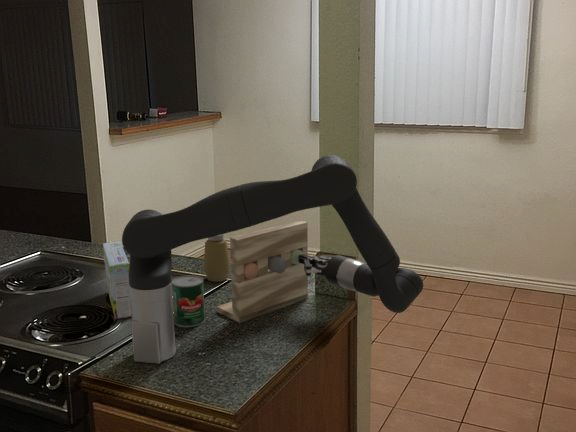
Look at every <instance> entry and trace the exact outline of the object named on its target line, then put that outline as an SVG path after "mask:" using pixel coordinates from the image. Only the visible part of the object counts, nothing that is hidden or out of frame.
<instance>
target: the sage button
mask: <svg viewBox="0 0 576 432" xmlns="http://www.w3.org/2000/svg"><path fill="white" fill-rule="evenodd" d="M301 254H303V252H302V251H300V250H297V249H295V250H292V251H291V263H293V264H295V265H299V264H301V263H299V258H298V256H299V255H301Z"/></svg>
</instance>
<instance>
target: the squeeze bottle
mask: <svg viewBox="0 0 576 432" xmlns="http://www.w3.org/2000/svg"><path fill="white" fill-rule="evenodd" d="M224 237H225V236H224V234H221V235H218V236H214V237H210V238H207V240H206V241H205V242H204V257H203V272H204V273H205V275H206V279H207V280H208V281H209V282H214V283H216V282H218V283H219V282H223V281H227V279H228V276H229V273H230V271H231V260H230V257H229V255H230V254H229V248H228V242H227V240H226V239H224Z"/></svg>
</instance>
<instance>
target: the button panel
mask: <svg viewBox="0 0 576 432" xmlns="http://www.w3.org/2000/svg"><path fill="white" fill-rule="evenodd" d="M308 244H309V243H308V221H304V220H300V219H299V220H296V221H291V222H287V223H282V224H280V225H276V226H272V227H271V226H270V227H268V228H267V227H266V228H263V229H258V230H255V231H251V232H247V233H243V234H240V235H239V234H238V235H235V236H231V237H229V245H230V246H229V248H230V249H229V251H230V254H229V255H230V278H231V279H230V280H231V281H230V282H231V301H229V302H226V303H223V304H220V305H217V306H216V307H215V308H216V313H219V314H221V315H223V316H225V317H227V318H229V319H230V320H233V321H235V322H237V323H239V324H241V323H245V322H246V321H249V320H252V319H255V318H257V317H260V316H264V315H266V314H269V313H271V312H274V311H277V310H280V309H283V308H285V307H288V306H292V305H294V304H296V303H299V302H302V301H304V300H303V299H305V300H307V299H309V297H308V294H309V293H308V291H309V290H308V287H309V286H308V281H309V278H308V277H309V276H306V273H305V270H304V264H302V263H301V264H299V265H295V264H293V263H291V251H292V250H295V249H297V250H300V251H302V252H303V254H305V255H309V254H308V248H309V247H308ZM271 256H277V257H280V258H283V259H285V260H286V262H287V267H286V269H285V271H284V272H283V273H281V274H279V273H276V272H273V271H270V270H268V257H271ZM250 262H251V263H254V264H256V265H257V266H258V274H257V276H256V277H255V278H254V279H248V278H246V277H244V264H247V263H250ZM306 298H307V299H306ZM301 300H302V301H301ZM298 301H299V302H298Z"/></svg>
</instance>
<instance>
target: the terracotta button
mask: <svg viewBox="0 0 576 432" xmlns="http://www.w3.org/2000/svg"><path fill="white" fill-rule="evenodd" d="M257 274H258V266H257V265H256V264H254V263H251V262H250V263H247V264H244V277H246V278H248V279H254V278H255V277H256V276H257Z"/></svg>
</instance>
